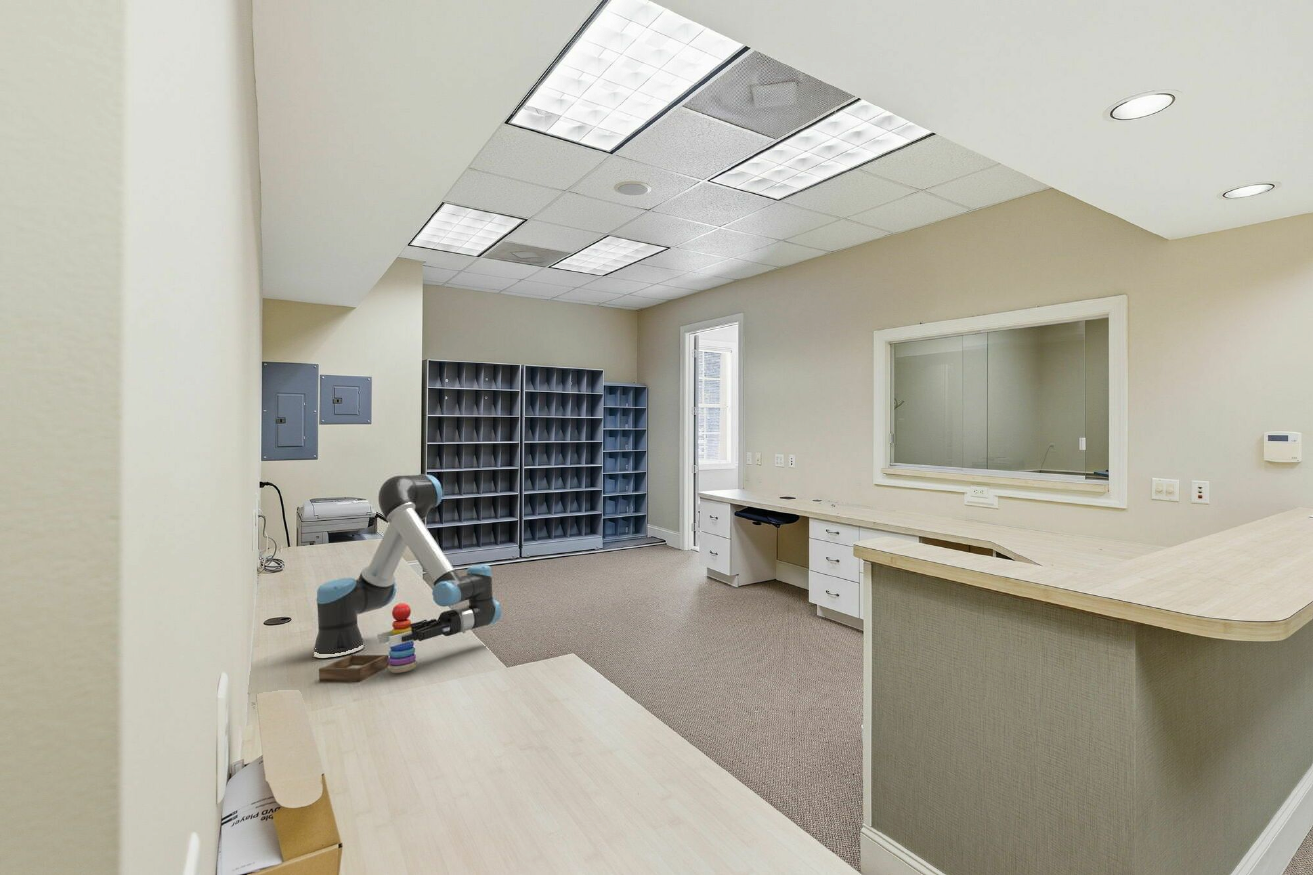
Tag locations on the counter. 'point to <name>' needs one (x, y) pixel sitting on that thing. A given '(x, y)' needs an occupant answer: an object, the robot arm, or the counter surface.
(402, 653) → the stacking toy
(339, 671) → the tray
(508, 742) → the counter surface
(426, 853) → the counter surface
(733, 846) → the counter surface
